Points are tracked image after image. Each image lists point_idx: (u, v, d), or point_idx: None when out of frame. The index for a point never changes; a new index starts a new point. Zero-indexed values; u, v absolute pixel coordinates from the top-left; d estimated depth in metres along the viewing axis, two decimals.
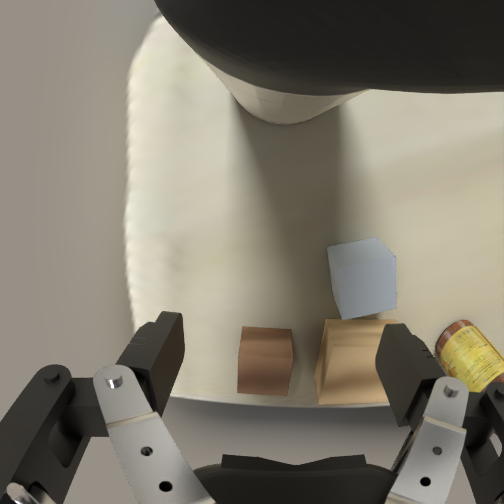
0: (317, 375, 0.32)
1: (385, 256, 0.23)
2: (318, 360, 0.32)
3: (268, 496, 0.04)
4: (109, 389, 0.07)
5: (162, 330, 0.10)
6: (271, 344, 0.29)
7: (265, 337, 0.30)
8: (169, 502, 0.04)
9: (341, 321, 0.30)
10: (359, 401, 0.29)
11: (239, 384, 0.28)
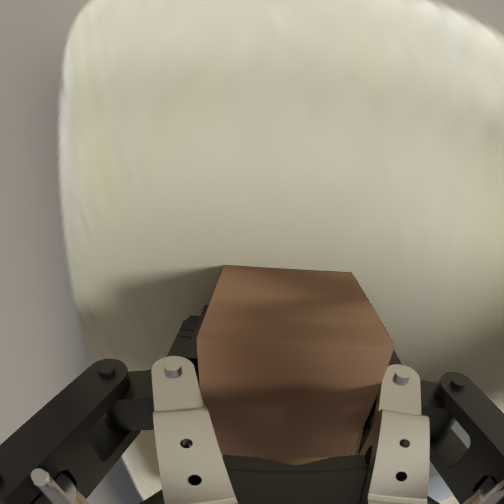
0: None
1: None
2: None
3: (268, 496, 0.04)
4: (171, 380, 0.07)
5: None
6: None
7: None
8: (193, 495, 0.04)
9: None
10: None
11: (249, 349, 0.07)
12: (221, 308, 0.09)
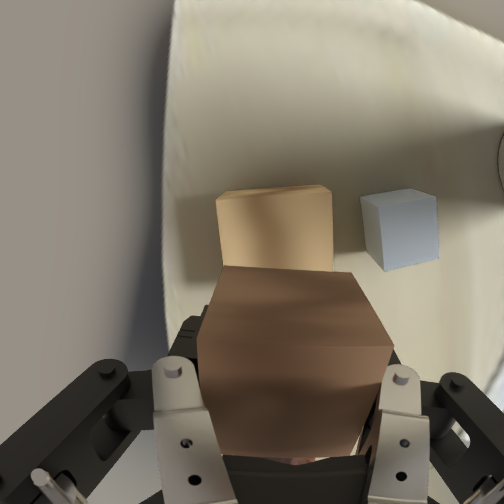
0: (240, 192, 0.24)
1: (437, 247, 0.21)
2: (257, 189, 0.25)
3: (268, 496, 0.04)
4: (171, 380, 0.07)
5: None
6: None
7: None
8: (193, 495, 0.04)
9: None
10: (226, 261, 0.23)
11: (249, 349, 0.07)
12: (221, 308, 0.09)
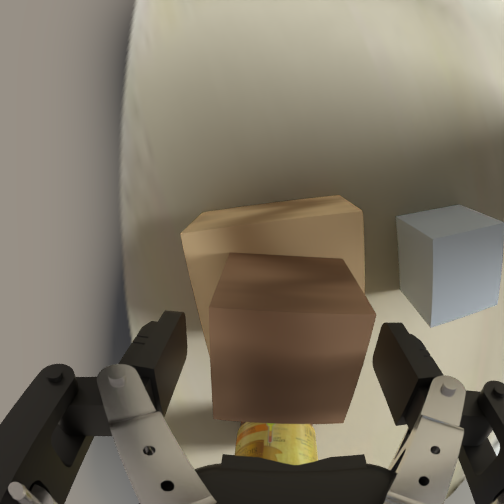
0: (221, 214, 0.16)
1: (497, 290, 0.14)
2: (248, 207, 0.17)
3: (268, 496, 0.04)
4: (113, 388, 0.07)
5: (165, 329, 0.10)
6: None
7: None
8: (171, 501, 0.04)
9: None
10: (206, 322, 0.15)
11: (252, 316, 0.09)
12: (228, 285, 0.10)
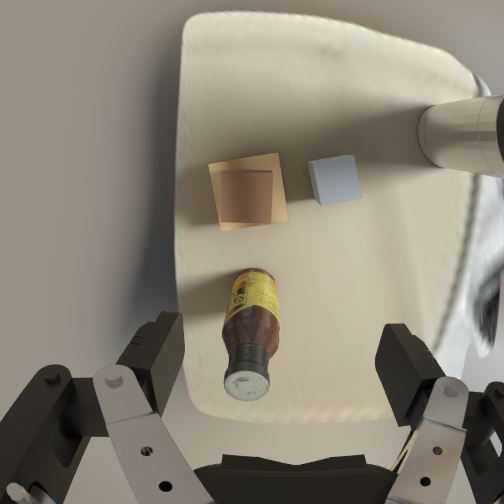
0: None
1: (359, 190, 0.34)
2: None
3: (268, 496, 0.04)
4: (109, 389, 0.07)
5: (162, 330, 0.10)
6: None
7: None
8: (169, 502, 0.04)
9: None
10: (217, 202, 0.35)
11: (234, 174, 0.29)
12: (227, 171, 0.31)
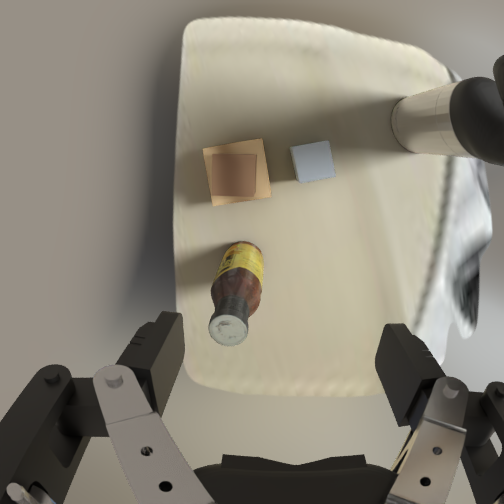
0: None
1: (334, 170, 0.39)
2: None
3: (268, 496, 0.04)
4: (109, 389, 0.07)
5: (162, 330, 0.10)
6: None
7: (255, 173, 0.38)
8: (169, 502, 0.04)
9: None
10: (210, 181, 0.41)
11: (223, 155, 0.35)
12: None
